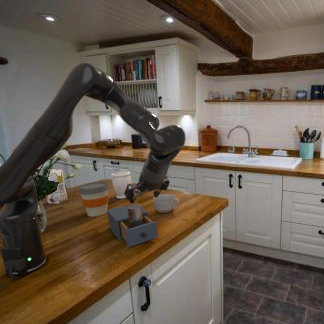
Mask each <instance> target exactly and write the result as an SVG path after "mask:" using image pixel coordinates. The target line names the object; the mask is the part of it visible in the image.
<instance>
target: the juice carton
mask: <svg viewBox="0 0 324 324" xmlns="http://www.w3.org/2000/svg"><path fill="white" fill-rule="evenodd" d="M51 169H52V170H51ZM51 169H50V170H51V171H50V174H49V177H48V180H49V181H54V182H59V184H58V186H57V190H56V191H55V192H53V193H52V194H50V195H48V196H47V195H46V201H47V203H48V204H53V205H60V204H61V203H64V202H67V201H68V194H67V189H66V182H65V177H64V172H63V171H64V169H55V168H51Z"/></svg>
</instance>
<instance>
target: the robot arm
mask: <svg viewBox="0 0 324 324" xmlns="http://www.w3.org/2000/svg"><path fill="white" fill-rule="evenodd" d="M58 89H59V90H58V91H57V92H56V94H55V96H54V98H53V99H52V100H51V102H50V103H49V104H48V106H47V107H46V109H45V110H44V111H43V112H42V114H41V115H40V116H39V117H38V118H37V120H35V122H34V123H33V125H32V126H30V128H29V130H28V131H27V132H26V133H25V135H24V137H23V138H22V139H21V141H20V142H19V143H18V144H17V146H16V147H15V148H14V150H13V151H12V152H11V154H10V155H9V156H8V157H7V159H6V160H5V161H4V162H3V163H2V164H1V165H0V205H3V207H2V209H1V211H0V237H1V242H2V247H1V248H0V253H1V258H2V262H3V266H4V271H5V275H6V276H9V277H10V278H11V279H13V280H15V281H16V280H18V277H17V276H26V275H27V274H30V273H32V272H35V271H37V270H39V269H41V268H42V267H43V266H44V265H45V264H47V258H46V254H45V249H44V245H43V240H42V234H41V230H40V224H39V219H38V214H37V213H38V212H37V211H38V207H39V201H38V193H37V188H36V187H37V186H36V183H35V180H34V178H33V176H32V174H34V172H35V171H37V170H38V169H39V168H40V167H41V166H43V165H45V164H46V163H47V162H48V161H49V160H51V159H52V158H53V157H54V156H55V155H56V154H58V153H59V152H60V151H61V150H62V148H63V147H64V146H65V145H66V144H67V142H68V141H69V140H70V139H71V137H72V135H73V131H74V112H75V110H76V107H77V106H78V104H79V103H80V102H81V101H82V99H83V98H84V97H87V98H90V99H92V100H94V101H99V102H100V103H102V104H105V105H106V106H108V107H110V108H111V109H113V110H114V111H115V112H116V113H117V115H118V116H119V117H120V118H121V120H122V121H123V122H124V123H125V124H126V125H128V126H129V127H130V128H131V129H133V130H134V131H135V132H136V133H138V134H139V136H140V137H141V139H142V140H143V142H145V144H146V146H147V148H148V149H149V152H148V154H147V157H146V159H145V162H144V164H143V166H142V169H141V171H140V174H139V178H138V182H137V183H136V184H134V185H131V184H128V185H127V187H126V190H125V192H124V194H125V197H126V198H125V199H126V201H127V200H128V202H129V203H130V205H131V204H135V201H136V199H137V198H138V197H141V196H143V195H144V194H146V193H149V192H153V197H155V198H156V197H158V196H159V195H161V193H162V192H163V191H167V190H168V188H169V186H170V183H171V181H170V180H169V177H168V176H167V174H168V171H169V168H170V166H171V164H172V162H173V160H174V159H175V158H177V156H178V155H179V153H180V152H181V151H182V150H183V148H184V146H185V144H186V140H187V135H186V133H185V130H184V129H183V128H182V126H179V125H177V124H170V125H167V126H164V127H162V128H160V124H161V122H160V119H159V117H158V116H157V115H155V114H154V113H153V112H152V111H151V110H149V109H148V108H146V106H143V104H141V103H139V102H138V101H137V100H135V99H134V98H132V97H131V96H129V95H128V94H127V93H126V92H125V91H124V89H122V88H121V87H120V86H119V84H118V83H117V82H116V81H115V80H114V78H112V77H111V76H110V75H109V74H108V73H106V72H105V71H103V70H102V69H100V68H98V67H96V66H95V65H93V64H92V63H89V62H79V63H78V64H76V65H74V67H73V68H72V69H71V70H70V72H69V73H68V75H67V76H66V78H65V79H64V80H63V83H62V84H61V86H60V87H59V88H58Z"/></svg>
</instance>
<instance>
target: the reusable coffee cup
mask: <svg viewBox="0 0 324 324" xmlns="http://www.w3.org/2000/svg"><path fill="white" fill-rule="evenodd" d="M78 189H79V195H80V196H81V197H80V199H81V203H82V205H83V208H84V209H85V212H86V215H87V216H88V217H93V218H94V217H99V216H102V215H105V214H106V213H107V210H108V205H109V204H108V203H109V199H110V197H109V184H108V182H105V181H93V182H89V183H84V184H81V185H80V186H79V188H78ZM107 214H108V213H107Z"/></svg>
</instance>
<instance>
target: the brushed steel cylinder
mask: <svg viewBox="0 0 324 324" xmlns="http://www.w3.org/2000/svg"><path fill="white" fill-rule="evenodd" d="M133 204H134V205H131V204H129V205H130V206H128V207H127V209H128V218H129V226H130V228H134V227H137V226H140V225H143V215H142V208H143V206H142V204H140V203H137V204H135V203H133Z"/></svg>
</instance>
